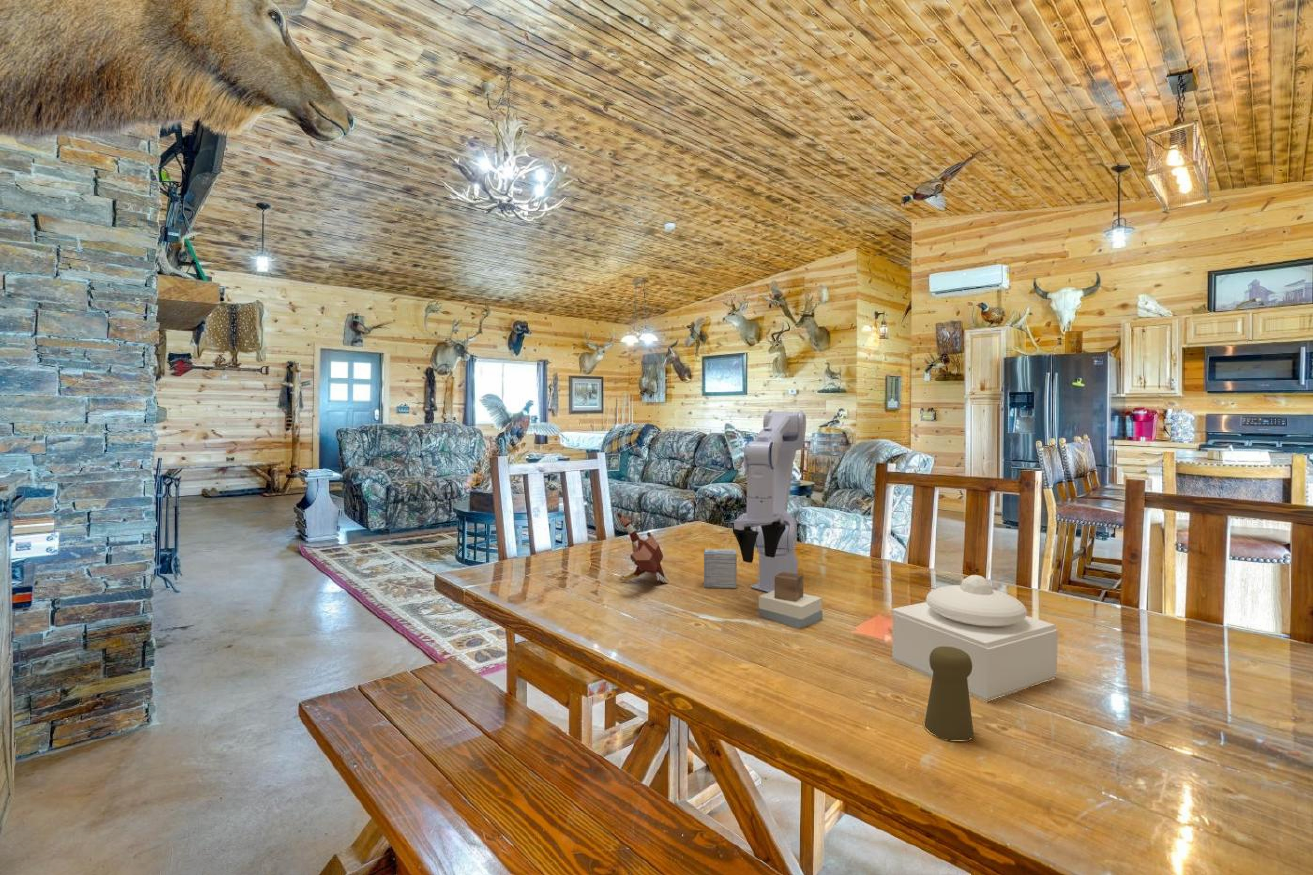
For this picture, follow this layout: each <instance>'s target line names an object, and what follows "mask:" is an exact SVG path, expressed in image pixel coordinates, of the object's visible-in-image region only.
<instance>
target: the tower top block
mask: <svg viewBox="0 0 1313 875" xmlns="http://www.w3.org/2000/svg"><path fill="white" fill-rule="evenodd" d="M774 594H775V590H774V591H771V592H765V593H764V594H760V595H758V609H759V608H760V609H764V610H768V611H771V612H775V613H779V614H783V615H786V616H790V617H794V618H798V619H801V620H802V619H804V618H806V617H808V616H810V615H812V614H814V613H816V612H818V611H820V610H822V611H823V608H822V607H823V598H822V597H820V596H816V595H812V594H811V595H810V594H808V593H803V597H801V598H800V599H799V600H797V601H796V602H794V601H788V600H782V599H776V598H774Z"/></svg>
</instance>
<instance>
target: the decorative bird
mask: <svg viewBox="0 0 1313 875" xmlns="http://www.w3.org/2000/svg"><path fill="white" fill-rule="evenodd" d="M616 516H618V519H619V522H620V524H621V526H623V528H625V530H626V531H627V533H628V535H629V538H630V541H631V548H632V553H630V557H629V558H630V560H631V561H632V563H634V565H635V566H636V568H635V571H633V572H632V573H630V574H628V575H626V576H625V575H621V577H619V578H618V580H619V581H621V582H623V583H627V584H628V582H627V581H629V580H632V579H635V578H639V577H640V576H642V575H643V574H645V573H649V574H650V575H653V576H655V577H656V579H657V582H659V583H662V584H665V585H668V584H669V580H668V579H667V578H666V577H665V573H664V570H663V566H662V564H661V562H662V561H663V559H664V553H663V552H662V549H661V547H660V545H659V543H658V541H657V540H656V539H655V537H654V536H653V535H652V534H651V532H649V531H648V532H647V533H646V535H647V539H645V540H644V539H641V538H640V537H639V534H638V533H637V531H636V529H635V528H634V526H633V525H632V524H631V522H630V520H629V519H628V517H626V516H624V515H623V514H622V513H620V512H619V511H618V513H617V514H616Z"/></svg>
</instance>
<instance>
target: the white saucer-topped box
mask: <svg viewBox="0 0 1313 875" xmlns="http://www.w3.org/2000/svg"><path fill="white" fill-rule="evenodd" d="M891 614H892V652H891V653H892V654H891V655H892V656H891V659H892V661H894V662H896V663H898V664H901V665H903V666H905V667H906V668H909V669H911V668H912V670H914V671H916V672H918V673H920V672H921V673H920V674H922V673H923V674H922V675H925V676H927V677H929V678H931V677H932V678H933V670H932V669H931V667H930V662H929V657H930V653H931V652H932V651H933V649H934V648H937V647H942V646H946V647H954V648H958V649H960V650H962V651H964V652H966V653H967V654H968V655H969V656H970V658H971V662H972V671H971V674H970V675H969V676H968V677H967V681H968V690H969V694H970V695H969V696H971V695H974V696H976V697H978V698H981V699H982V700H985V701H989V700H991V699H993V698H996V697H999V696H1002V695H1007V696H1009V695H1008V694H1010V693H1013V692H1015V691H1019V690H1021V689H1024V688H1027V687H1030V686H1032V685H1035V684H1037V683H1040V682H1042V681H1045V680H1050V679H1052V678H1055V677H1056V678H1057V675H1058V674H1057V670H1058V646H1059V645H1058V643H1059V641H1058V640H1059V629H1056V624H1054V623H1052V622H1048V621H1044V620H1041V619H1038V618H1034V617H1031V616H1027V615H1028V610H1027V607H1026V606H1025V605H1024V604H1023V603H1022V602H1021V601H1020V600H1018V599H1017V598H1016V597H1014V596H1012V595H1010V594H1008V593H1005V592H1002V591H999V590H996V589H993V587H992V584H991V582H990V581H989V580H988V579H986V578H985V577H983V576H982V575H978V574H971V575H969V576H967V577H965V578H963V579H962V581H961V583H960V584H955V585H954V584H952V585H946V586H940V587H938V588H935V589H932V590H931V591H930V592H928V594H927V595H926V597H925V601H924V602H921V603H914V604H910V605H904V606H899V607H895V608H891ZM932 678H931V679H932ZM1019 692H1020V691H1019ZM1013 694H1014V693H1013ZM1010 695H1011V694H1010ZM978 698H977V699H978ZM982 700H981V701H982Z"/></svg>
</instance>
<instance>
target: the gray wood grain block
mask: <svg viewBox="0 0 1313 875" xmlns="http://www.w3.org/2000/svg"><path fill="white" fill-rule="evenodd" d="M703 550H704V551H703V588H706V589H708V588H710V589H713V588H715V589H737V587H738V586H737V585H738V582H737V580H738V578H737V577H738V576H737V573H738V572H737V571H738V570H737V569H738V568H737V567H738V564H737V563H738V562H737V561H738V559H737V558H738V553H737V552H738V551H737V549H733V548H732V549H731V548H705V549H703Z"/></svg>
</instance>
